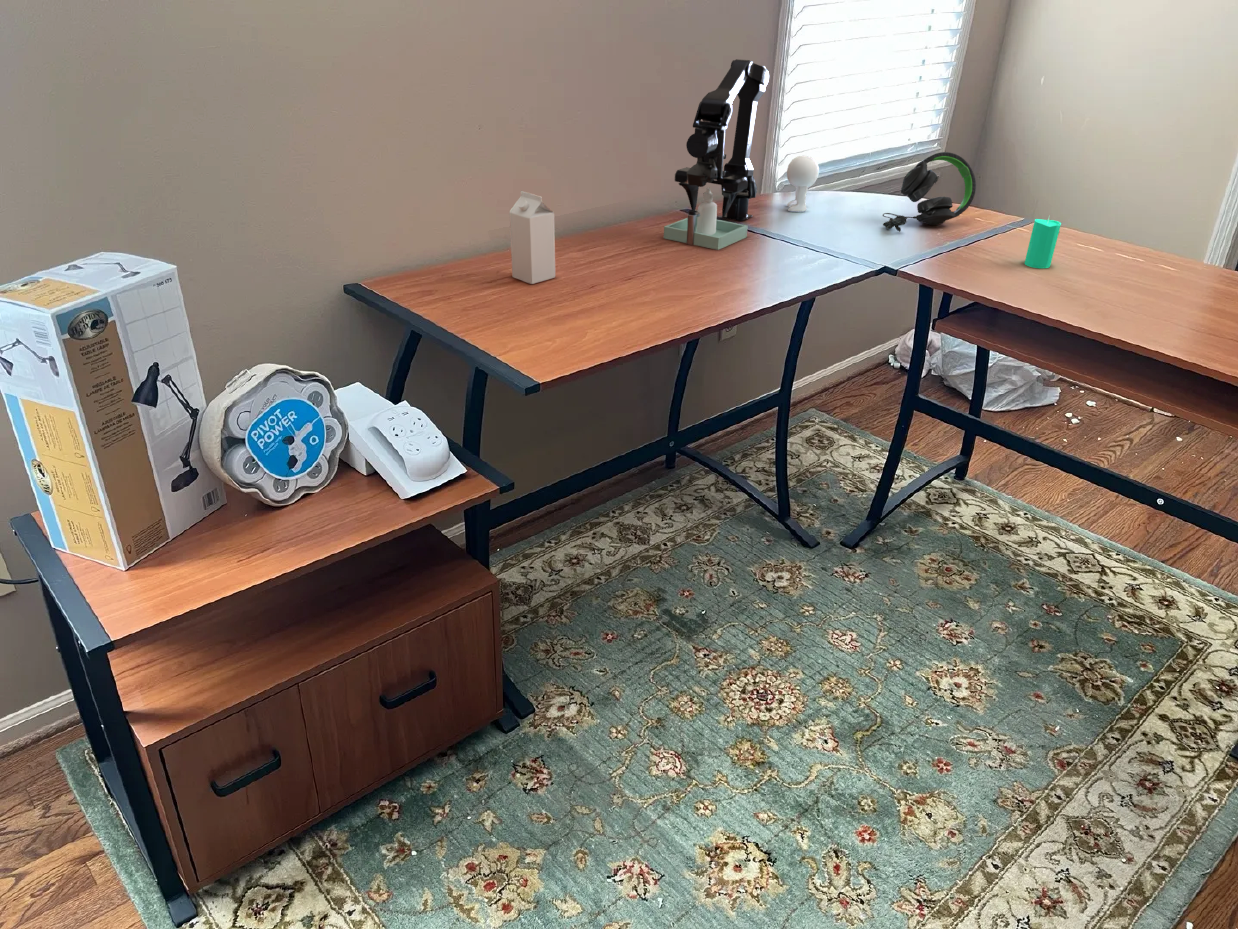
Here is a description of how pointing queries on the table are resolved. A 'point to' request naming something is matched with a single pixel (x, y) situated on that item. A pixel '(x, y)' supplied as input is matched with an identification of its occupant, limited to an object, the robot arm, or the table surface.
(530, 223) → the milk carton
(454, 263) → the table surface
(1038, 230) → the candle
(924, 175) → the headset
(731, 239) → the green tray
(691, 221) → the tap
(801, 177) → the toy character
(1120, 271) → the table surface
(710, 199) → the eye dropper bottle
